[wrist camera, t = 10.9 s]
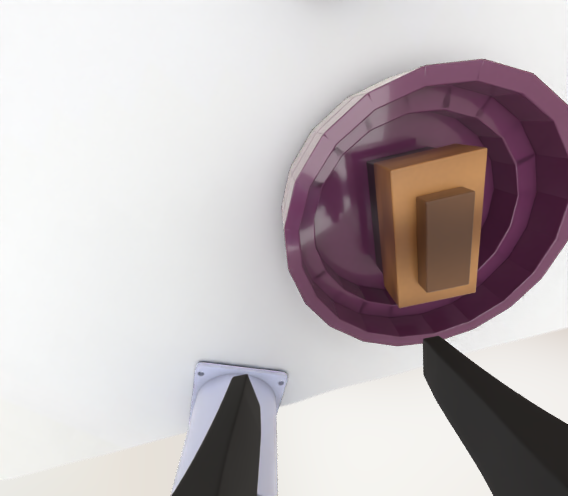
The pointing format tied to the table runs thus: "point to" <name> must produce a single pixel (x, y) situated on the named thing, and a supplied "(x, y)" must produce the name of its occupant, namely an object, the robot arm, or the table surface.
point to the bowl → (415, 135)
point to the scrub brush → (428, 221)
